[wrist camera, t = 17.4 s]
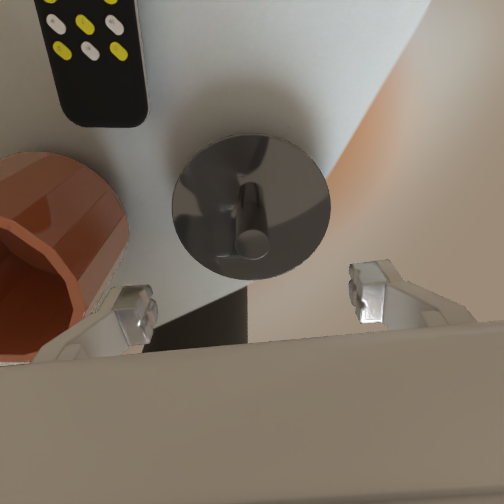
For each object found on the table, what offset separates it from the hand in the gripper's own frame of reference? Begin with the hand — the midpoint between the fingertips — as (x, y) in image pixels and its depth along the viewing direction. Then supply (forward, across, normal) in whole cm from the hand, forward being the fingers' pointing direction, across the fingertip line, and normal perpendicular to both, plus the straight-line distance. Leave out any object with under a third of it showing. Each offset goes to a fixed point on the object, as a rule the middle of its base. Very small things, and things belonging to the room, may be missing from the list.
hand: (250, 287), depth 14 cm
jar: (+17, +18, +3) cm, 25 cm away
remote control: (+17, +9, -11) cm, 22 cm away
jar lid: (+16, 0, +4) cm, 17 cm away
